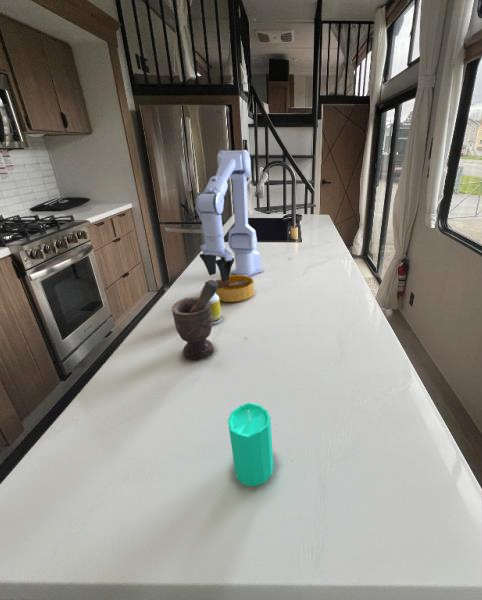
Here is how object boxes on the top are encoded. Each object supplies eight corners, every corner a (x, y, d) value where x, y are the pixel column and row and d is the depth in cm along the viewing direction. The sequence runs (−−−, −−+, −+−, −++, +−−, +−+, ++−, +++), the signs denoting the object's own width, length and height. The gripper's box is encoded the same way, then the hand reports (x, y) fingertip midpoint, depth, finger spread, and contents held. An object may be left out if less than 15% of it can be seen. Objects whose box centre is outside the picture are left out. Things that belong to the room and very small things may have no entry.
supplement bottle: (224, 316, 96) (220, 285, 92) (218, 325, 91) (214, 293, 87) (206, 315, 96) (201, 285, 92) (200, 324, 91) (195, 293, 87)
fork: (245, 282, 112) (245, 276, 112) (249, 283, 111) (249, 277, 110) (204, 288, 101) (204, 281, 101) (207, 290, 100) (208, 283, 99)
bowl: (239, 283, 118) (238, 272, 116) (262, 294, 109) (261, 281, 107) (207, 294, 110) (205, 282, 108) (229, 307, 101) (228, 294, 99)
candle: (236, 453, 53) (228, 397, 48) (272, 450, 53) (269, 394, 48) (233, 488, 48) (224, 429, 42) (274, 484, 48) (270, 425, 43)
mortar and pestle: (232, 343, 83) (223, 269, 74) (225, 363, 75) (215, 284, 66) (187, 343, 83) (174, 270, 74) (176, 363, 75) (159, 284, 67)
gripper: (189, 233, 99) (196, 274, 105) (215, 242, 90) (220, 287, 96) (209, 229, 104) (214, 269, 109) (236, 237, 94) (240, 280, 100)
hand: (218, 277), depth 103 cm, fingers open, 7 cm apart
